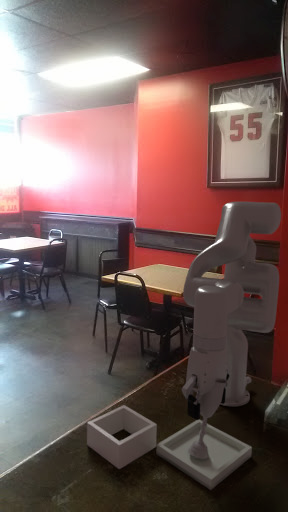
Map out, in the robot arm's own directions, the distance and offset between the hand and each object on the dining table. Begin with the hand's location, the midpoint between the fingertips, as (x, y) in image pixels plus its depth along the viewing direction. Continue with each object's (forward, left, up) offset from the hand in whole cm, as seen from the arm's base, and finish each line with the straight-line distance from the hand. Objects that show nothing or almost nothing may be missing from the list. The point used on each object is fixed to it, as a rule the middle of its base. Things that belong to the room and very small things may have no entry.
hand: (206, 409), depth 96 cm
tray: (+1, 0, -12) cm, 12 cm away
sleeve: (+13, -16, -12) cm, 23 cm away
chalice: (+3, 0, -10) cm, 11 cm away
